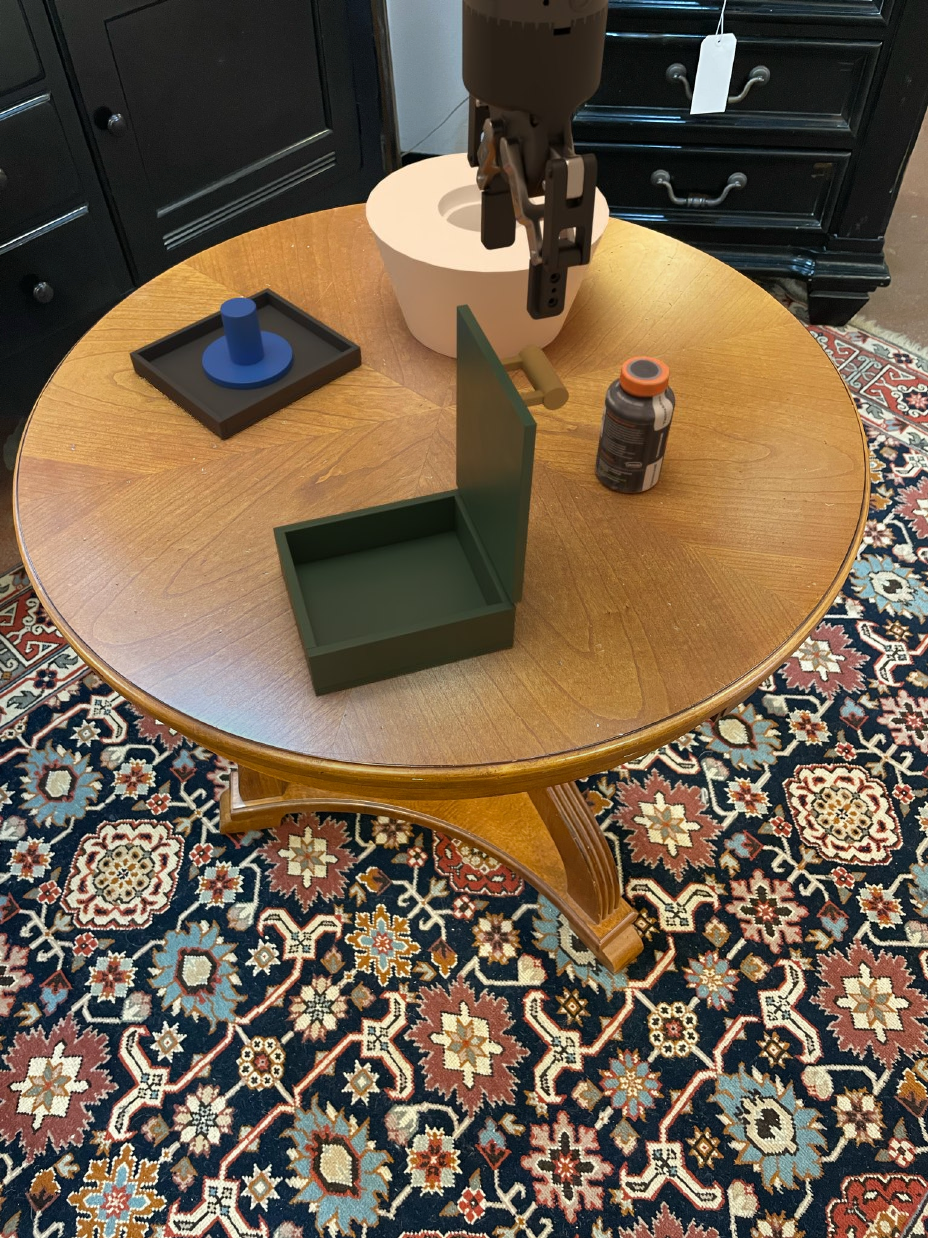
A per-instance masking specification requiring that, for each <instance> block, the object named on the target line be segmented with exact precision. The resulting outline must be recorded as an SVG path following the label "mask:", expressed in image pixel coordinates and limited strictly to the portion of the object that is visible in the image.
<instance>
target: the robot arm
mask: <svg viewBox="0 0 928 1238" xmlns="http://www.w3.org/2000/svg"><path fill="white" fill-rule="evenodd" d="M609 3H610V2H609V0H461V46H462V47H461V52H462V53H461V79H462V83H463V86H464V88H465V89H466V91H467V92H468V123H467V124H468V125H467V153H468V154H467V159H468V162H469V165H470V167H471V168H474V167H478V171H477V177H476V182H477V185H478V188H479V190H484V191H482V192H481V242H482V244H483V245H484V247H485V248H486V249H487V250H494V249H500V248H505V247H510V246H512V245H513V244H514V242H515V236H516V220H517V222H518V223H519V224H521V225H524V226H525V228H526V233H527V239H528V245H529V251H530V258H531V259H529V275H528V292H527V312H528V313H529V315H530V316H531V318H532V319H534V320H539V319H544V318H549V317H554V316H558V315H560V314H561V313H562V312H563V310H564V305H565V294H566V283H567V273H568V267H573V266H582V265H587V264H589V261H590V253H591V241H592V229H593V217H594V205H595V193H596V187H597V179H598V161H597V158H596V155H595V154H594V153H585V154H576V153H575V146H574V140H573V134H572V120H571V116H573V113H574V112H575V111H576V110H577V108H579V107H580V106H581V105H582V104H583V103H585V102H587V101H588V100H589V99H591V98H592V97H593V96H594V95H595V93H596V92H597V90H598V89H599V86H600V84H601V77H602V67H603V59H604V49H605V39H606V31H607V21H608V20H607V19H608V12H609V11H608V10H609ZM482 135H483V136H482ZM541 196H545V200H544V204H538V205H535V204H532V203H531V202H530V201H529V199H528V198H535V197H541ZM540 221H544V222H543V239H542V233H541V227H540ZM575 227H576V231H575V234H574V228H575ZM559 237H560V239H559Z"/></svg>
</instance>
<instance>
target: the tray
mask: <svg viewBox="0 0 928 1238" xmlns="http://www.w3.org/2000/svg"><path fill="white" fill-rule="evenodd" d="M246 298H248V299H250V300H252V301H253V302H254V303H255V304H256V309H257V315H258V321H259V326H260V331H266V332H270V333H274V334H276V335H279V336H280V337H282V338H284V339H285V340H286V341H287V342H288V343H289V344H290V346H291V348H292V353H293V364H292V367H291V369H290V370H289V372H288V373H287V374H286V375H285V376H284V377H282V378H281V379H279V380H278V381H276V382H274V383H272V384H269V385H267V386H263V387H259V388H254V389H232V388H227V387H223V386H220V385H218V384H216V383H214V382H213V381H211V380H210V379H209V378H208V377H207V376H206V374H205V372H204V369H203V364H202V357H203V354H204V351H205V350H206V348H207V347H208V346H209V345H210V344H211V343H213V342H214V341H216V340H217V339H219V338H221V337H223V336H225V331H224V326H223V321H222V316H221V312H220V310H218V311H215V312H213V313H212V314H209V315H207V316H205V317H203V318H201V319H199V320H196V321H195V322H192V323H190V324H188V325H186V326H184V327H181V328H180V329H177V330H175V331H173V332H171V333H169V334H167V335H165V336H163V337H161V338H158V339H156V340H155V341H152V342H150V343H148V344H146V345H143V346H141V347H140V348H137V349H135V350H132V351H131V352H129V353H128V355H129V358H130V360H131V364H132V367H133V371H134V372H135V373H137V375H138V376H140V377H142V378H143V379H144V380H146V381H147V382H148V383H149V384H150V385H152V386H153V387H155V388H156V389H157V390H158V391H160V392H161V393H162V394H163V395H164V396H166V397H167V398H168V399H170V400H171V401H173V402H174V403H175V404H176V405H177V406H179V407H180V408H181V409H183V410H184V411H185V412H186V413H188V415H191V417H193V418H194V419H195V420H197V421H198V422H199V423H200V424H202V426H203V427H206V428H207V429H208V430H209V431H210V432H212V433H213V434H214V435H216V436H217V437H218V438H219V439H221V440H222V441H225V440H227V439H229V438H231V437H232V436H234V435H236V434H238V433H240V432H241V431H243V430H245V429H247V428H249V427H250V426H253V425H254V424H256V423H258V422H259V421H261V420H264V419H265V418H268V417H269V416H271V415H272V414H274V413H275V412H278V411H279V410H281V409H284V408H285V407H287V406H288V405H291V404H292V403H295V401H298V400H300V399H302V398H303V397H305V396H307V395H309V394H311V393H312V392H315V391H316V390H318V389H320V388H321V387H324V386H325V385H327V384H329V383H331V382H332V381H334V380H336V379H338V378H340V377H342V376H343V375H345V374H347V373H349V372H351V371H352V370H354V369H356V368H358V367H360V366H362V364H363V363H362V351H361V350H362V349H361V346H359V345H358V344H356V343H355V342H354V341H352V340H351V339H349V338H347V337H346V336H344V335H342V334H341V333H339V332H338V331H336V330H335V329H333V328H331V327H330V326H328V325H327V324H326V323H324V322H322V321H320V320H319V319H317V318H316V317H315V316H313V315H311V314H309V312H306V311H305V310H303V309H302V308H300V307H299V306H297V305H296V304H294V303H292V302H291V301H289V300H288V299H286V298H285V297H282V296H281V295H280V294H278V293H277V292H275V291H273V290H272V289H270V288H269V287H267V288H264V289H263V290H260V291H258V292H256V293H254V294H251V295H250V296H247V297H246Z"/></svg>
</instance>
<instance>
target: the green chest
mask: <svg viewBox="0 0 928 1238" xmlns="http://www.w3.org/2000/svg"><path fill="white" fill-rule="evenodd" d="M272 530H273V536H274V542H275V546H276V550H277V555H278V560H279V566H280V570H281V573H282V577H283V581H284V584H285V588H286V592H287V596H288V600H289V603H290V607H291V610H292V614H293V618H294V621H295V625H296V629H297V633H298V636H299V641H300V644H301V648H302V651H303V655H304V659H305V662H306V666H307V669H308V673H309V677H310V680H311V684H312V688H313V692H314V695H315V697H319V696H323V695H328V694H331V693H336V692H340V691H343V690H348V689H352V688H355V687H359V686H363V685H367V684H371V683H374V682H379V681H383V680H388V679H391V678H394V677H395V678H396V677H399V676H403V675H407V674H410V673H411V674H412V673H415V672H419V671H422V670H427V669H431V668H436V667H439V666H443V665H446V664H451V663H454V662H460V661H463V660H467V659H471V658H474V657H479V656H483V655H486V654H491V653H495V652H499V651H502V650H507V649H510V648H513V647H514V640H515V627H516V613H517V606H516V603H514V604H512V603H511V601H510V599H509V597H508V594H507V592H506V590H505V588H504V586H503V584H502V582H501V579H500V577H499V575H498V573H497V571H496V569H495V567H494V564H493V562H492V560H491V558H490V556H489V554H488V552H487V549H486V547H485V545H484V543H483V541H482V539H481V537H480V534H479V532H478V530H477V528H476V526H475V524H474V522H473V519H472V517H471V515H470V513H469V511H468V509H467V507H466V504H465V502H464V500H463V498H462V496H461V494H460V492H459V489H458V488H455V489H449V490H444V491H440V492H436V493H435V492H434V493H431V494H425V495H421V496H417V497H416V496H415V497H412V498H407V499H402V500H397V501H393V502H389V503H383V504H379V505H374V506H370V507H365V508H359V509H355V510H351V511H346V512H340V513H336V514H332V515H326V516H321V517H316V518H313V519H308V520H303V521H299V522H298V521H297V522H293V523H289V524H285V525H280V526H274V527H272Z"/></svg>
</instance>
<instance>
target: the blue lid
mask: <svg viewBox="0 0 928 1238" xmlns="http://www.w3.org/2000/svg"><path fill="white" fill-rule="evenodd" d="M219 311H220V312H221V316H222V321H223V326H224V331H225V336H223V337H221V338H219V339H217V340H216V341H214V342H213V343H211V344H210V345H209V346H208V347H207V348H206V350H205V351H204V354H203V357H202V364H203V369H204V372H205V374H206V376H207V377H208V378H209V379H210V380H211V381H213V382H214V383H216V384H218V385H220V386H223V387H227V388H232V389H254V388H259V387H263V386H267V385H269V384H272V383H274V382H276V381H278V380H279V379H281V378H282V377H284V376H285V375H286V374H287V373H288V372H289V370H290V369H291V367H292V364H293V353H292V348H291V346H290V344H289V343H288V342H287V341H286V340H285V339H284V338H282V337H280V336H279V335H276V334H274V333H270V332H266V331H260V326H259V321H258V315H257V309H256V304H255V303H254V302H253V301H252V300H250V299H248V298H247V297H233V298H229V299H226V300H225V301H224V302H223V303H222V304H221V305H220V307H219Z"/></svg>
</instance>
